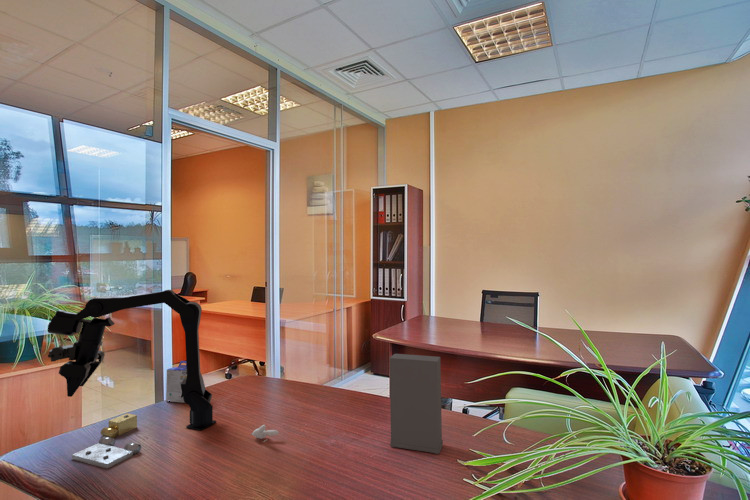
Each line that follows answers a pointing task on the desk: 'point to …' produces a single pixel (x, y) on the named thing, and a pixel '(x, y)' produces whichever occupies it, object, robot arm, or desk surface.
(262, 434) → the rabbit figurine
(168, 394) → the ink cartridge box
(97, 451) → the steel leaf
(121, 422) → the brass leaf
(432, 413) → the upright charcoal grey block
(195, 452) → the desk surface
